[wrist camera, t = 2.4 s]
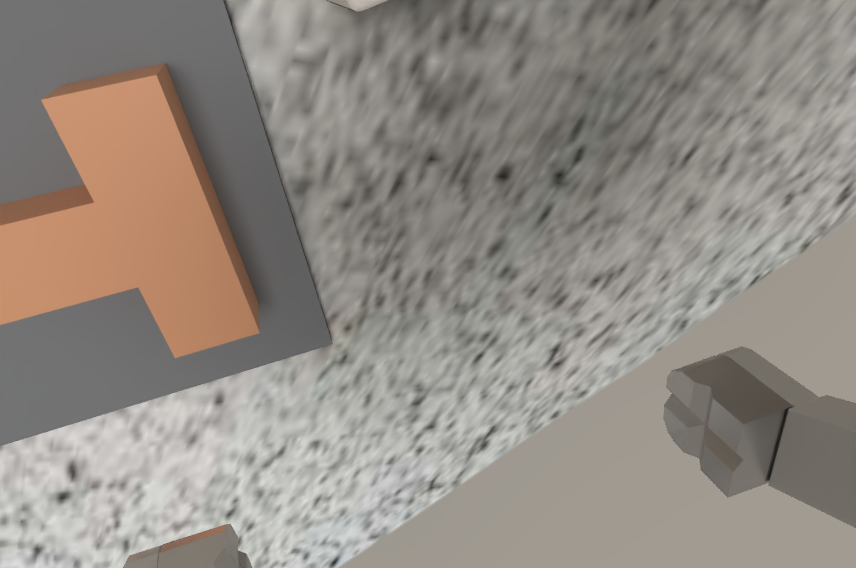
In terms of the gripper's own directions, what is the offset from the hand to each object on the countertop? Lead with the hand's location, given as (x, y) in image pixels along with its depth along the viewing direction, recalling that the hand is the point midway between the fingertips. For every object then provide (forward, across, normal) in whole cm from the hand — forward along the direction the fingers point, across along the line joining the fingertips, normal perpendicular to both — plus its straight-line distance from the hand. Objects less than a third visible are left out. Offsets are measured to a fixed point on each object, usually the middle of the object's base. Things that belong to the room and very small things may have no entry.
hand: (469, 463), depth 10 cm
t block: (+20, +10, +1) cm, 23 cm away
